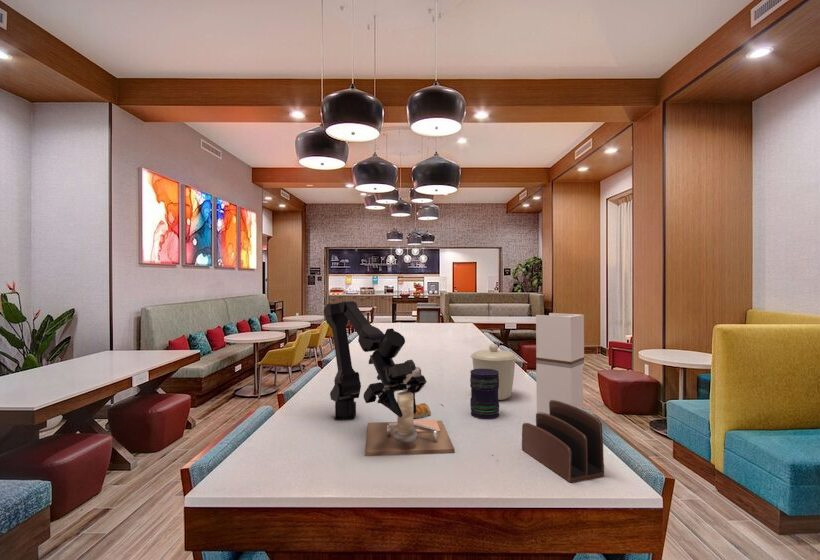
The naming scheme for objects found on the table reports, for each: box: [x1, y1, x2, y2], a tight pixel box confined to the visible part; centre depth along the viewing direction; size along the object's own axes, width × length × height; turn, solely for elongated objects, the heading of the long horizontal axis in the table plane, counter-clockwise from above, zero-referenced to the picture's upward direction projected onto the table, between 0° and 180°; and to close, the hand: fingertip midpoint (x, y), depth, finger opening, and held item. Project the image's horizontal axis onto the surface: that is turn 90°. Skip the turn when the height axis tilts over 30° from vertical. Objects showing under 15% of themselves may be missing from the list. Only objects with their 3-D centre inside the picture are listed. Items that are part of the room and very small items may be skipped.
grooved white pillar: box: [535, 312, 585, 415], centre depth 136 cm, size 11×11×35 cm
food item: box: [404, 366, 422, 383], centre depth 183 cm, size 14×8×10 cm, turn 100°
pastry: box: [413, 402, 432, 419], centre depth 144 cm, size 9×7×4 cm
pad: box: [413, 419, 440, 433], centre depth 130 cm, size 10×10×1 cm
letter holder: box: [521, 400, 605, 484], centre depth 106 cm, size 10×20×14 cm, turn 18°
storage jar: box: [469, 368, 500, 420], centre depth 144 cm, size 10×10×15 cm
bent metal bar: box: [387, 423, 437, 443], centre depth 121 cm, size 15×4×4 cm, turn 71°
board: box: [364, 420, 455, 457], centre depth 123 cm, size 24×23×1 cm
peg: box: [394, 391, 417, 442], centre depth 115 cm, size 6×6×12 cm
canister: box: [470, 343, 518, 401], centre depth 166 cm, size 18×18×21 cm
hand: (408, 414), depth 114 cm, fingers closed on peg, 4 cm apart
